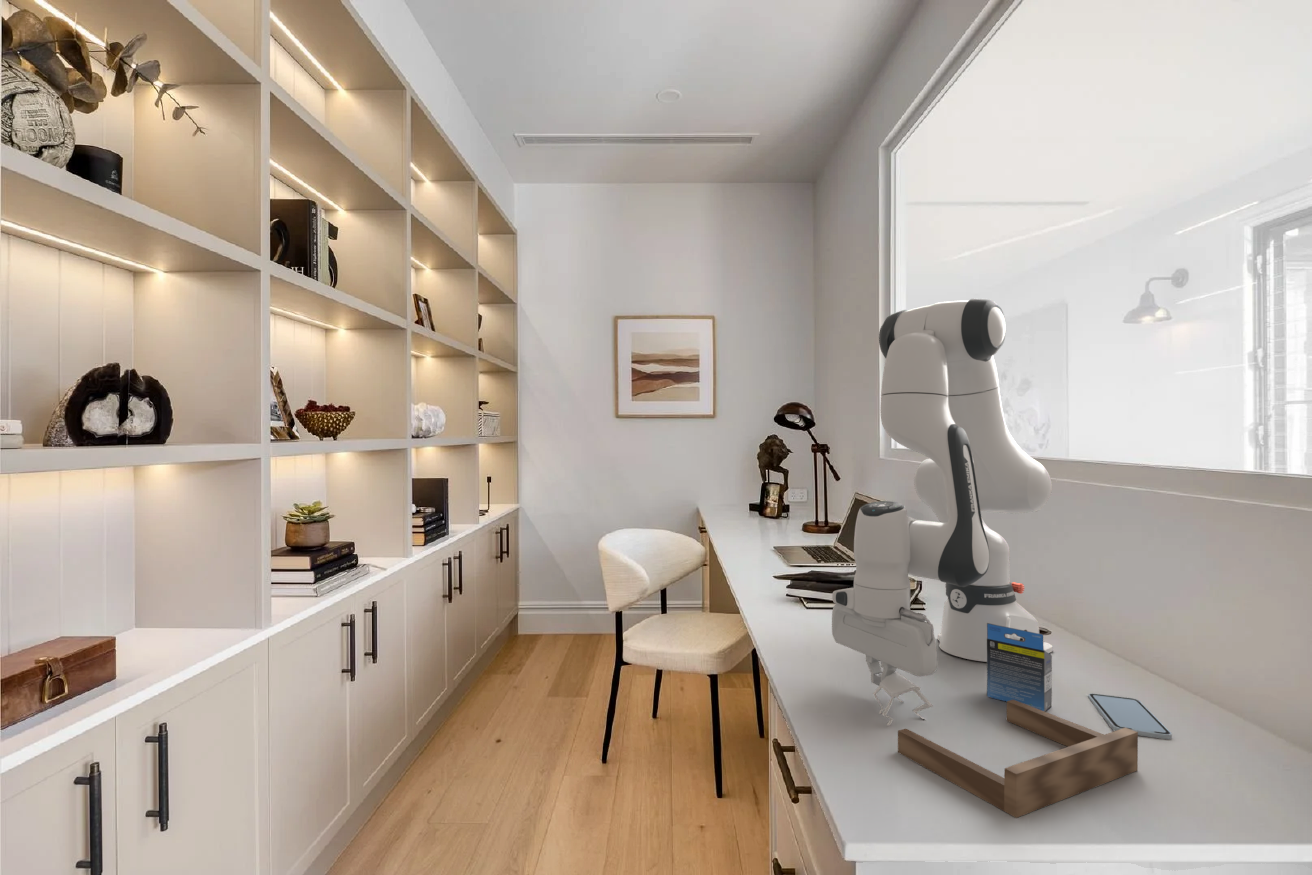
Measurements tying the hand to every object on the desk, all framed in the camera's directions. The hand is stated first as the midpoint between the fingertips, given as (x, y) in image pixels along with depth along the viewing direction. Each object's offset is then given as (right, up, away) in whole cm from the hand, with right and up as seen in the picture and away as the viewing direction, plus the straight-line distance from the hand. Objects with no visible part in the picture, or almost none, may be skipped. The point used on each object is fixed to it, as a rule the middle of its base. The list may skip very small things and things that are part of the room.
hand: (881, 685), depth 111 cm
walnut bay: (+10, -2, -20) cm, 23 cm away
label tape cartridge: (+22, -3, -1) cm, 22 cm away
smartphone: (+36, -3, -7) cm, 37 cm away
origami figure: (+1, -2, -5) cm, 6 cm away
